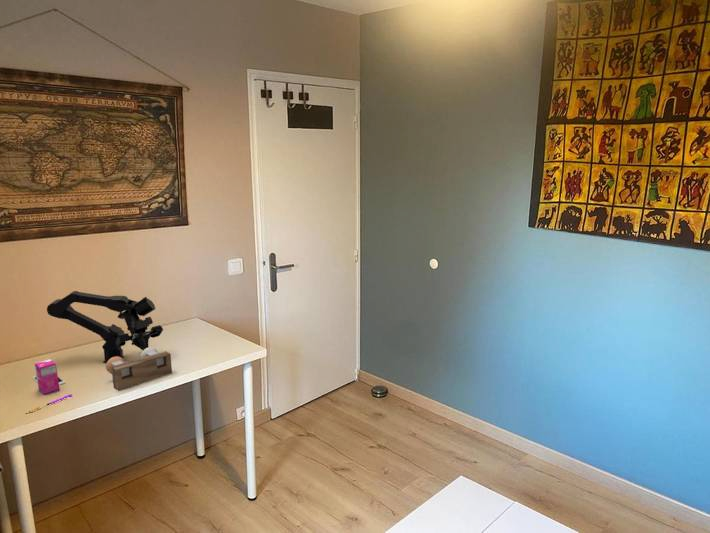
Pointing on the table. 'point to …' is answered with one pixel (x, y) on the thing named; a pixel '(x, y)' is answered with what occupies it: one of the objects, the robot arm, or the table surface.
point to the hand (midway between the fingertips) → (147, 352)
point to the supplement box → (47, 376)
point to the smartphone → (58, 380)
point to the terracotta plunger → (117, 361)
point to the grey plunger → (152, 351)
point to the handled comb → (54, 401)
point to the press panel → (141, 370)
